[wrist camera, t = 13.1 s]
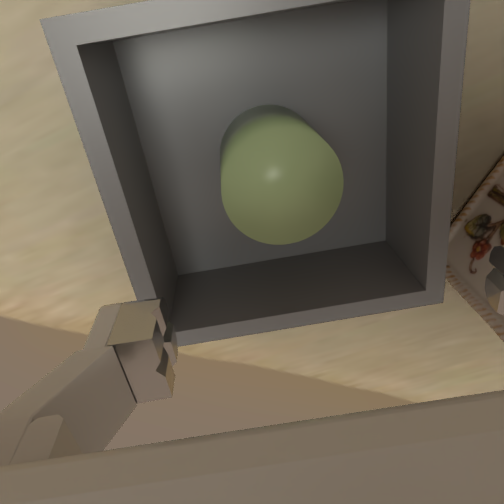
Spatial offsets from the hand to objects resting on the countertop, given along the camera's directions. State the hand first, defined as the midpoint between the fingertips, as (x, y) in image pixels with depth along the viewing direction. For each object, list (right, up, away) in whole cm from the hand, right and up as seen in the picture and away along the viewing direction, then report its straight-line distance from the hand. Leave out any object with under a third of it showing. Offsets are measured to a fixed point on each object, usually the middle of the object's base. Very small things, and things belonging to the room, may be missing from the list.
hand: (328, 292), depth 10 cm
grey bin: (-1, +7, +15) cm, 16 cm away
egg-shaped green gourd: (-1, +7, +14) cm, 15 cm away
